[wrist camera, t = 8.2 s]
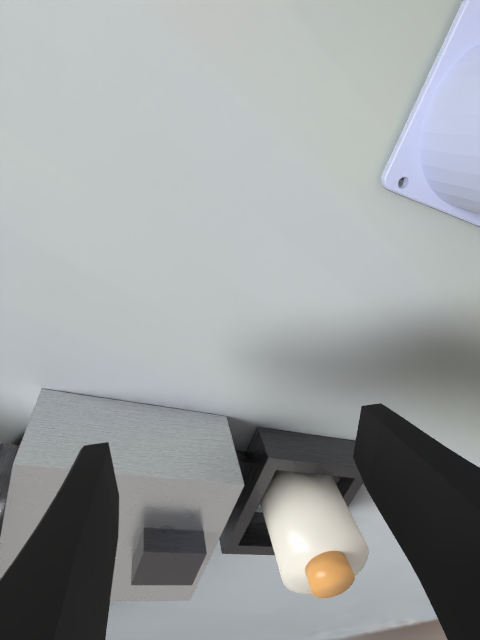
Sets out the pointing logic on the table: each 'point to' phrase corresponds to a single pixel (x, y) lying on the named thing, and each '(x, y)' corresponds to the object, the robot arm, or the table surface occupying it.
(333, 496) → the white orange-capped bottle
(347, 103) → the table surface
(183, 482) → the grey two-tone device
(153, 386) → the table surface
